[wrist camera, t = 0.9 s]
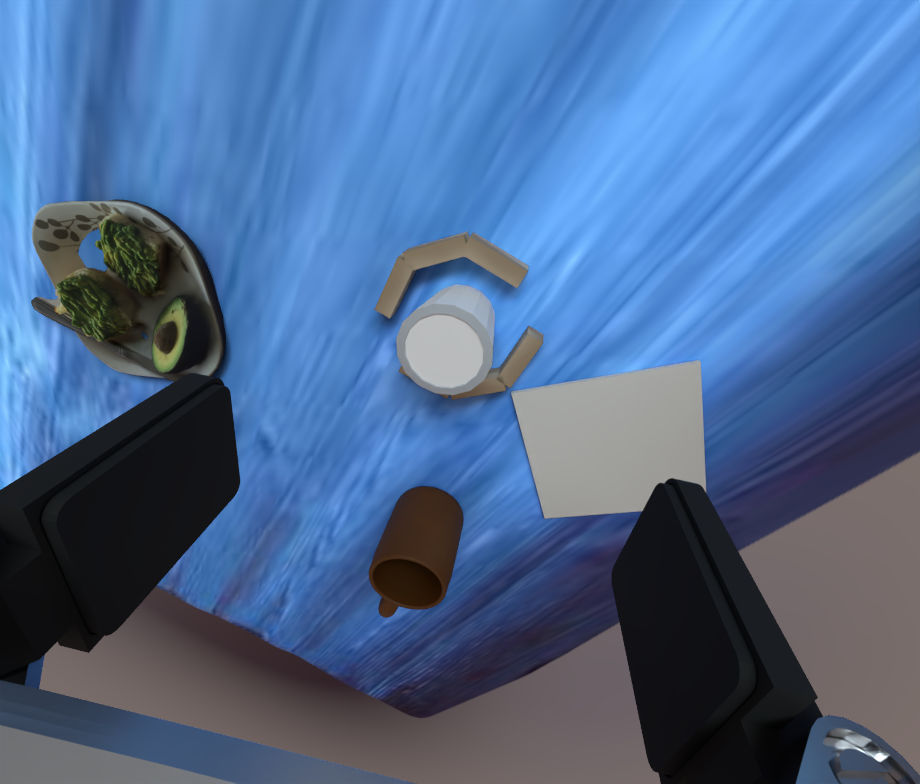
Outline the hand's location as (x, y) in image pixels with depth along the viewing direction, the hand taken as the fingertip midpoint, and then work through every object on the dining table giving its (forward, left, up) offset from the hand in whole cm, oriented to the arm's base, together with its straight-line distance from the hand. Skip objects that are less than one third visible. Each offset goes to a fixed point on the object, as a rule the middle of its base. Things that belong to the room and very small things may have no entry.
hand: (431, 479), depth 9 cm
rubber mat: (-5, +19, -26) cm, 33 cm away
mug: (+16, +26, -26) cm, 41 cm away
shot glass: (+5, +4, -26) cm, 27 cm away
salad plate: (+34, -4, -27) cm, 43 cm away
